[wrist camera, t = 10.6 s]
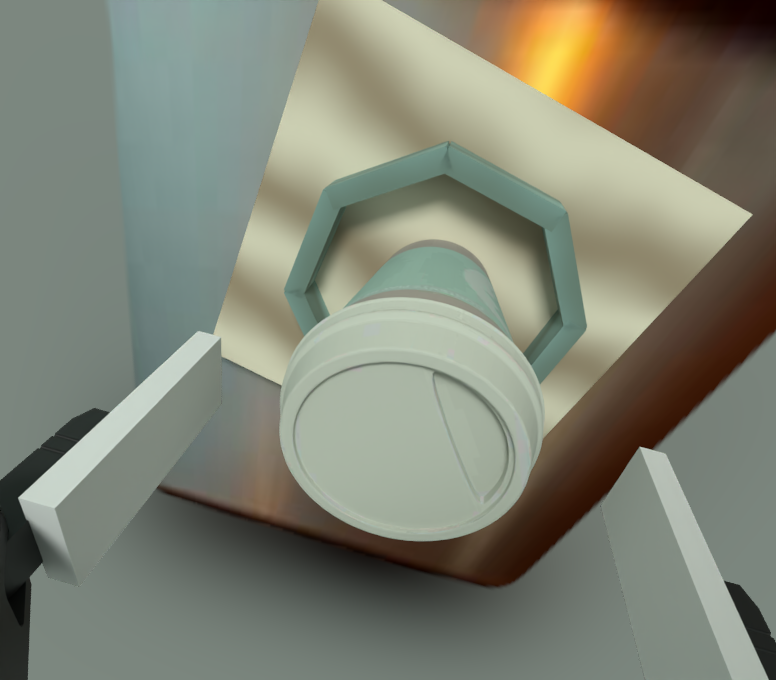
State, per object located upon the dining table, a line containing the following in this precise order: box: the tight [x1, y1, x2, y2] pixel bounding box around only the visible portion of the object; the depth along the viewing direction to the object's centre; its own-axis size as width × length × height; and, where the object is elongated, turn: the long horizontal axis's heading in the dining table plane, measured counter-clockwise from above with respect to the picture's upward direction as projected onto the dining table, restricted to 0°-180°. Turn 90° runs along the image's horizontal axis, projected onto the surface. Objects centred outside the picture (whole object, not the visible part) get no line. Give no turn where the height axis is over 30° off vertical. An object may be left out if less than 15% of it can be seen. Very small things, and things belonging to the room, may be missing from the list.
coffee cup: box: [279, 239, 545, 541], centre depth 19 cm, size 9×9×12 cm
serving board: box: [213, 0, 752, 438], centre depth 24 cm, size 20×20×3 cm
